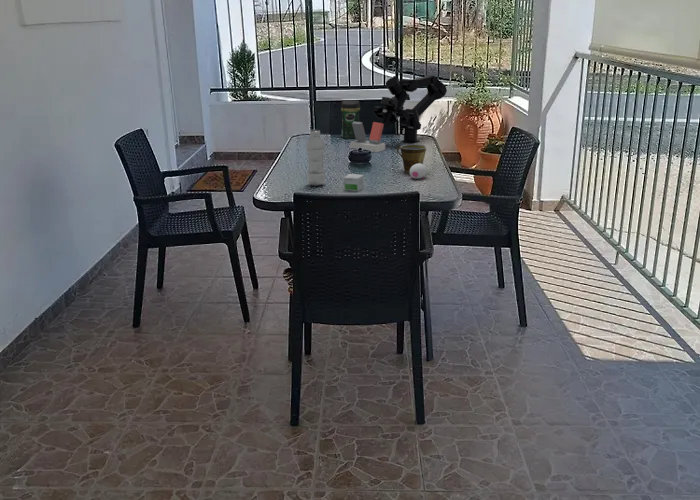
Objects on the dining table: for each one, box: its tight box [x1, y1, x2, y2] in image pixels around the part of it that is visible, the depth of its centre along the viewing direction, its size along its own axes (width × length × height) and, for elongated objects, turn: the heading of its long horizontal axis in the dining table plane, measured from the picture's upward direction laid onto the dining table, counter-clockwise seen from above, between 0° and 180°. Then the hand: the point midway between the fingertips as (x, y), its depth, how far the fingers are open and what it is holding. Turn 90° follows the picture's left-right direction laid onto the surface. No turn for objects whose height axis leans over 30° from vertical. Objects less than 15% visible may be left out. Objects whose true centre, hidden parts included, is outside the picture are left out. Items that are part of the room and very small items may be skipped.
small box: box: [343, 173, 365, 192], centre depth 231 cm, size 6×6×5 cm
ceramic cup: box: [396, 143, 427, 175], centre depth 254 cm, size 13×10×10 cm
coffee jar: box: [340, 99, 361, 140], centre depth 323 cm, size 10×8×19 cm
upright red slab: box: [368, 121, 384, 144], centre depth 294 cm, size 2×5×9 cm, turn 47°
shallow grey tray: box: [350, 140, 386, 153], centre depth 298 cm, size 7×15×3 cm, turn 47°
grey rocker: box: [352, 121, 368, 142], centre depth 297 cm, size 2×5×9 cm, turn 47°
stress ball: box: [409, 163, 428, 180], centre depth 244 cm, size 8×8×7 cm
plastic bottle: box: [306, 129, 326, 187], centre depth 234 cm, size 6×7×20 cm
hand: (382, 128), depth 297 cm, fingers closed
